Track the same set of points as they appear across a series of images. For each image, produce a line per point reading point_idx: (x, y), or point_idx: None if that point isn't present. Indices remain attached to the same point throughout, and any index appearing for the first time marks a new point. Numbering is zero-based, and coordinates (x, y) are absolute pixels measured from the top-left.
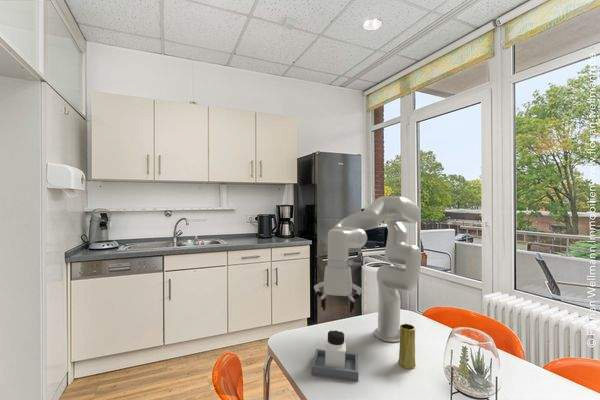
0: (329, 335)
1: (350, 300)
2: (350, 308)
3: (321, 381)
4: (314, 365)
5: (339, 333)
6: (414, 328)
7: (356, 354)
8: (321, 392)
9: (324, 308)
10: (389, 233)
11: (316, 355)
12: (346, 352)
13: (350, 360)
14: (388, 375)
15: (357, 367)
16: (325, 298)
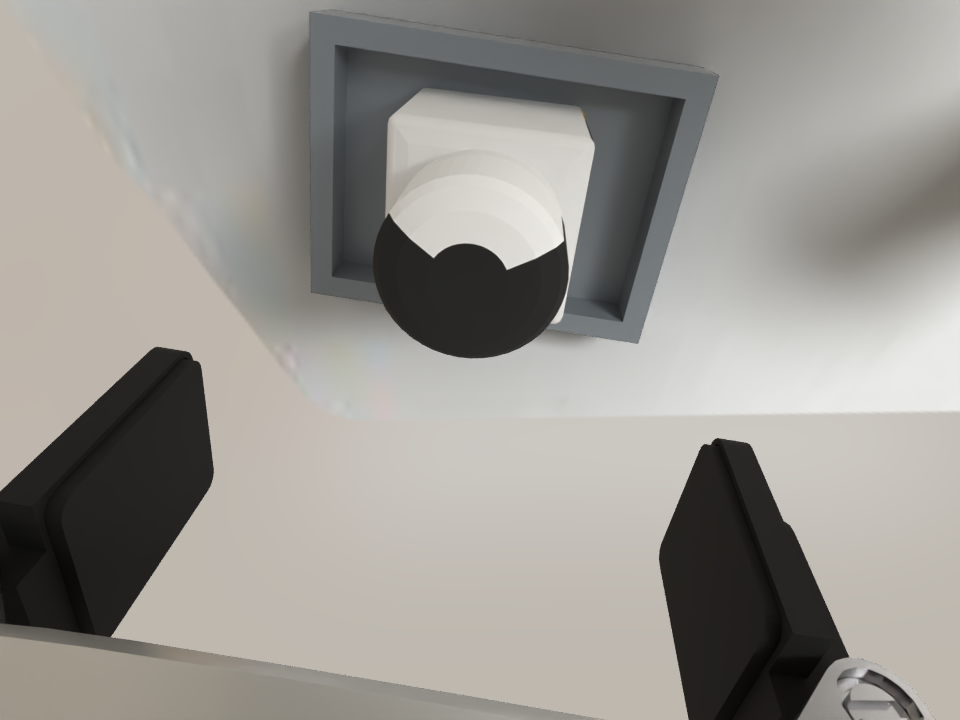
0: (393, 316)
1: (745, 691)
2: (679, 628)
3: (396, 324)
4: (328, 280)
5: (505, 312)
6: None
7: (699, 92)
8: (400, 406)
9: (188, 507)
10: None
11: (327, 140)
12: (608, 63)
13: (631, 103)
14: (875, 246)
15: (647, 290)
16: (75, 564)
